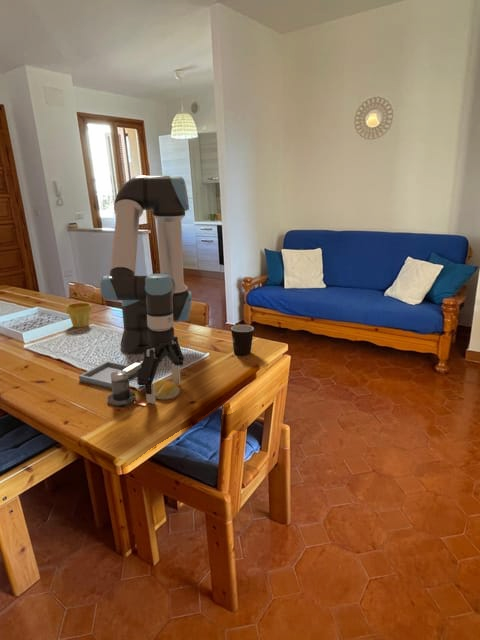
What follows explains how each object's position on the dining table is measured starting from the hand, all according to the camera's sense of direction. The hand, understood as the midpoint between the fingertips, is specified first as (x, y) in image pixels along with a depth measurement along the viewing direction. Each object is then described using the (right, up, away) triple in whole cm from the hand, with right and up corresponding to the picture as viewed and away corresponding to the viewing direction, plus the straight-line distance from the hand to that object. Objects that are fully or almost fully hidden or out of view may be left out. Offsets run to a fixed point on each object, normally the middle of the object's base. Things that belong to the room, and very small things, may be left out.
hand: (164, 393), depth 127 cm
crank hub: (-10, -2, -5) cm, 11 cm away
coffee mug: (+25, +10, +34) cm, 43 cm away
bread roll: (0, -1, 0) cm, 1 cm away
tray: (-20, +3, +11) cm, 23 cm away
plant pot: (-50, +20, +64) cm, 83 cm away
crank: (-10, +1, 0) cm, 10 cm away
